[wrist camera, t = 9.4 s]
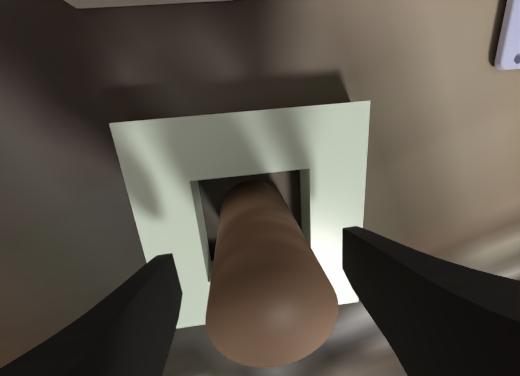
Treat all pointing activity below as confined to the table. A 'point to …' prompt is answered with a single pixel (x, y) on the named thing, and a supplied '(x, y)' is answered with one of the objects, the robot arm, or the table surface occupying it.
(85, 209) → the table surface
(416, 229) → the table surface
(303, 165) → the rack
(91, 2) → the socket block
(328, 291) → the peg
